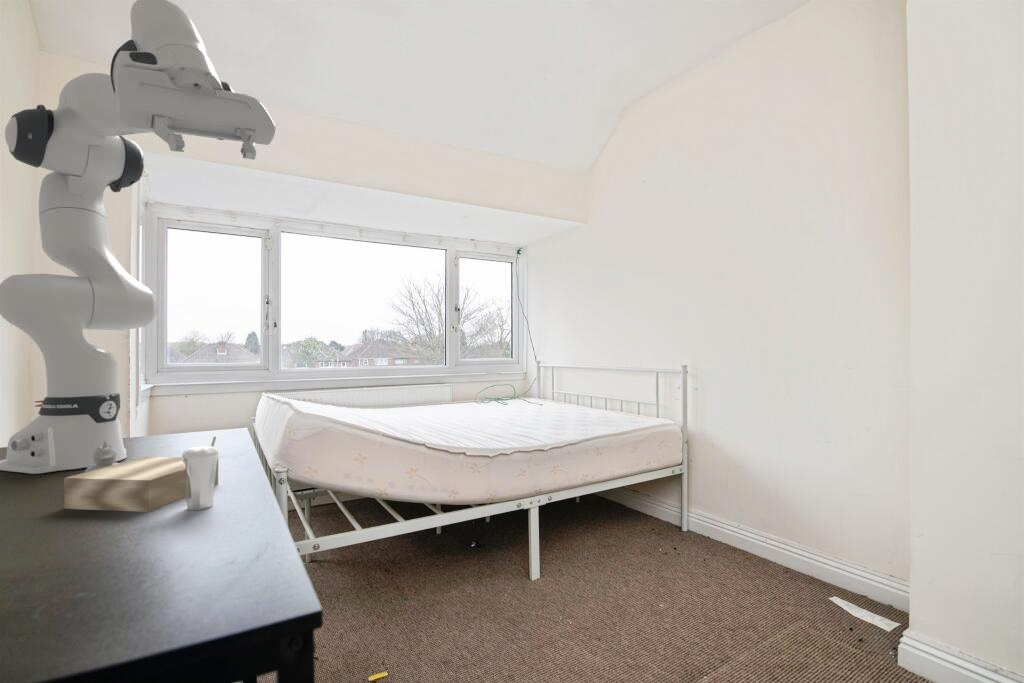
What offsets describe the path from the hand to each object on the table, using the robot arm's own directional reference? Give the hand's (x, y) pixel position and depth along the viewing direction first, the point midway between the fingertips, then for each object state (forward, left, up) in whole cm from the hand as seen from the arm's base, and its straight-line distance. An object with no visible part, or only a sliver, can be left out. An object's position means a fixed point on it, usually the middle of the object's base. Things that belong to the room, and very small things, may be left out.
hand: (216, 152), depth 70 cm
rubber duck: (-30, +12, -53) cm, 62 cm away
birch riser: (-17, +7, -53) cm, 56 cm away
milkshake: (-4, +3, -53) cm, 53 cm away
